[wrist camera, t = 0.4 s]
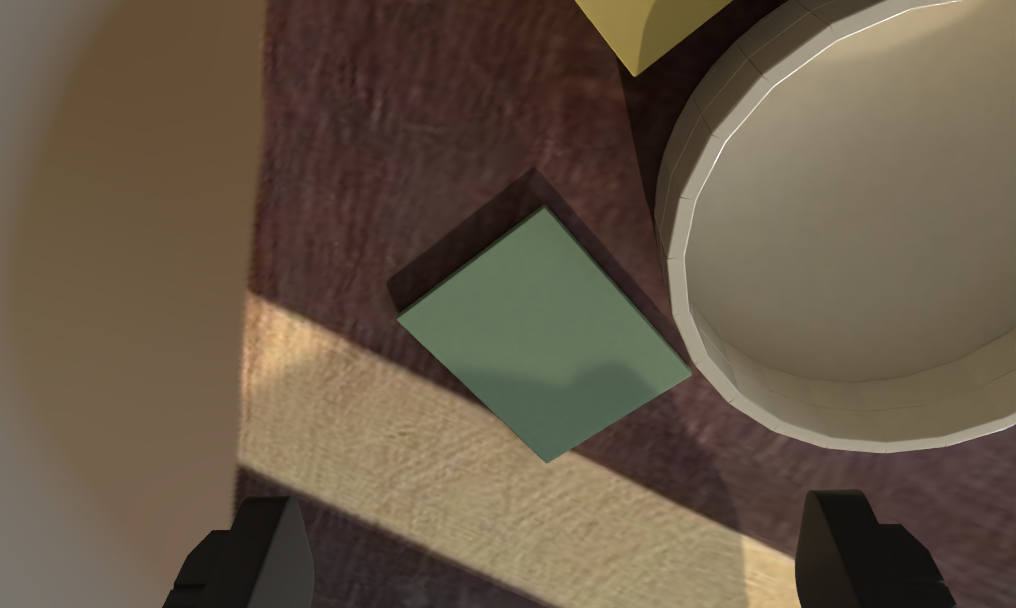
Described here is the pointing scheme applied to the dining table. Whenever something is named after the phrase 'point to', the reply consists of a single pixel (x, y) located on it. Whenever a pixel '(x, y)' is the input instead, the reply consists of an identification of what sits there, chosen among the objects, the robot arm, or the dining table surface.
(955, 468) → the dining table surface
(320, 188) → the dining table surface
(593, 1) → the sponge
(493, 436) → the dining table surface
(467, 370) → the mat
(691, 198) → the wash bowl
